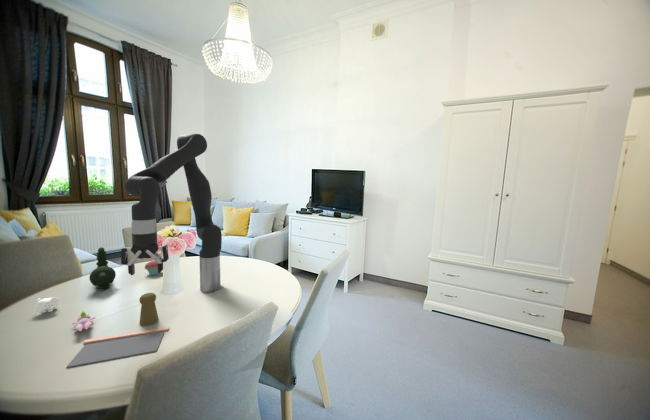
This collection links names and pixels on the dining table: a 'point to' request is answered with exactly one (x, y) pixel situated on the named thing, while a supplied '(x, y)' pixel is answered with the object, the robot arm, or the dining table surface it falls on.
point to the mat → (116, 349)
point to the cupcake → (152, 267)
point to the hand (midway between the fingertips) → (146, 273)
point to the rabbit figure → (83, 322)
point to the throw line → (125, 335)
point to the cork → (148, 309)
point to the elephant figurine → (46, 304)
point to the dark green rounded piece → (102, 272)
